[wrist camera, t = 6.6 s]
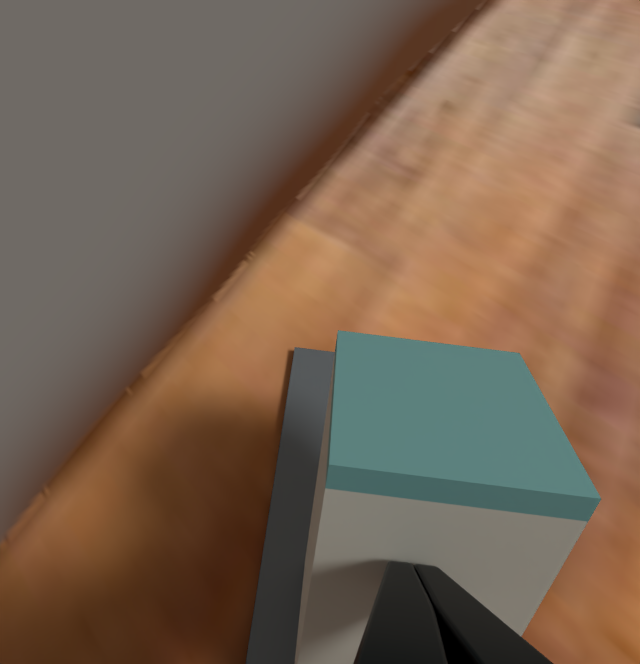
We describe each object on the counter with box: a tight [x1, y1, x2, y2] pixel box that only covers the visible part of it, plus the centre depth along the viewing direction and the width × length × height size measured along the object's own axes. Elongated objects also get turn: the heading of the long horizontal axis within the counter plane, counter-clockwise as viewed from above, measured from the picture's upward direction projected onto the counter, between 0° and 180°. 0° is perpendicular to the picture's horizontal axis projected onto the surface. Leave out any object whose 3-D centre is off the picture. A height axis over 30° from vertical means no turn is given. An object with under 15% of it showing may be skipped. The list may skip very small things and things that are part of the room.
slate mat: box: [246, 347, 335, 664], centre depth 15 cm, size 13×7×1 cm, turn 174°
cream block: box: [294, 330, 601, 664], centre depth 11 cm, size 4×4×8 cm
